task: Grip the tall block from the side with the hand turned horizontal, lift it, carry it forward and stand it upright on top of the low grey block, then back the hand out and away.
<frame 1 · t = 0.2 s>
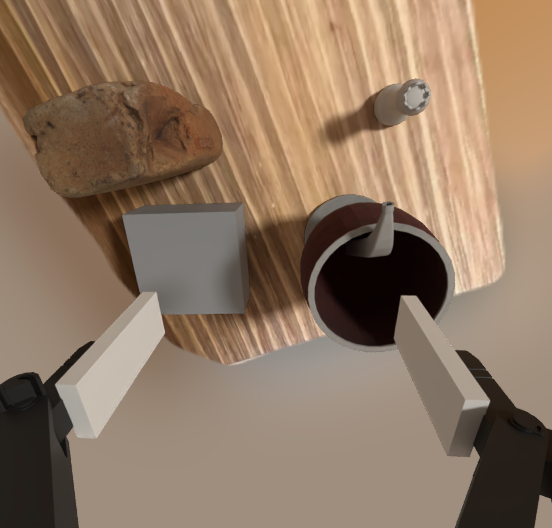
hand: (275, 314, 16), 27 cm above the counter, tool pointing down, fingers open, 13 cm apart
block: (185, 142, 39), on the counter
rook chess piece: (391, 106, 37), on the counter
grey base block: (199, 251, 45), on the counter
mate gourd: (346, 232, 43), on the counter
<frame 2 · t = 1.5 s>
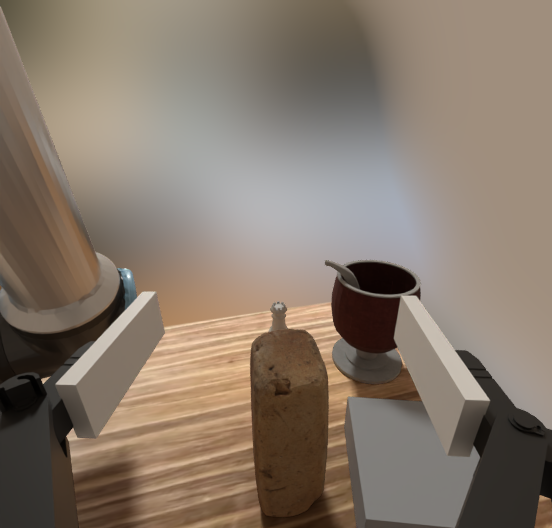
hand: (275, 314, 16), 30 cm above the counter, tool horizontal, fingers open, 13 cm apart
block: (285, 473, 38), on the counter
rook chess piece: (279, 339, 62), on the counter
grey base block: (409, 483, 36), on the counter
mate gourd: (361, 359, 56), on the counter
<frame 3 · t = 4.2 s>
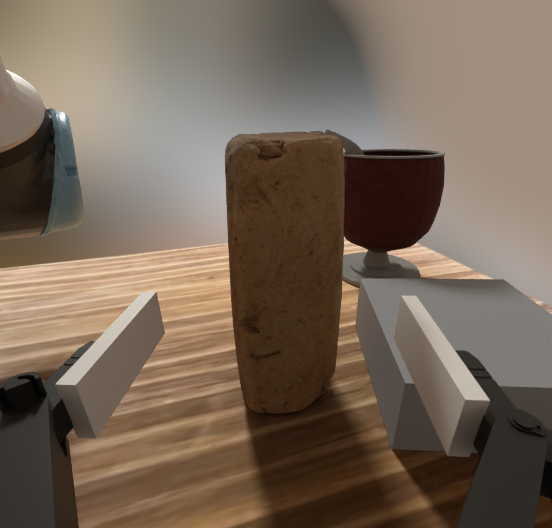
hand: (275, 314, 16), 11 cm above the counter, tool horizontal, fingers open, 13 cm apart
block: (279, 372, 28), on the counter
grey base block: (450, 376, 27), on the counter
mate gourd: (369, 272, 46), on the counter
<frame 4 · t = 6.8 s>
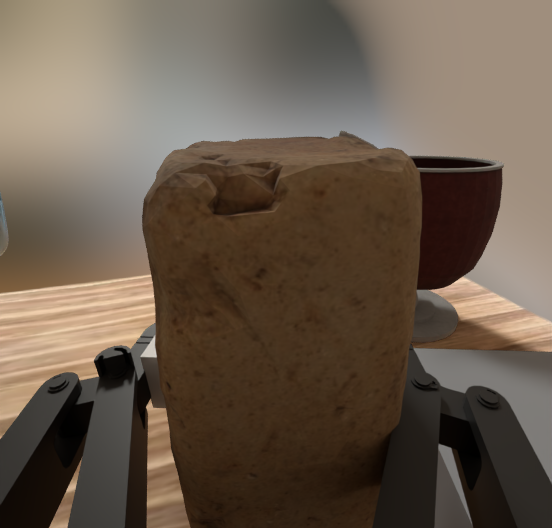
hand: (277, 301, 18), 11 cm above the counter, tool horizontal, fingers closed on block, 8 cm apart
block: (276, 504, 18), on the counter, touching gripper
grey base block: (543, 519, 17), on the counter
mate gourd: (392, 311, 37), on the counter
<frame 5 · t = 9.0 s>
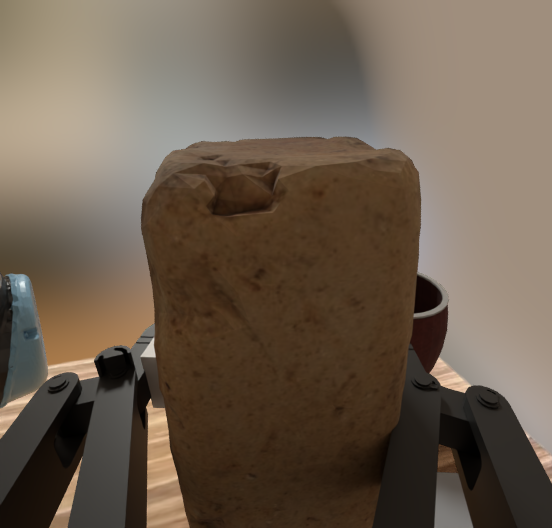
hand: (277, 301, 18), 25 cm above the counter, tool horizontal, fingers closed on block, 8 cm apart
block: (275, 505, 18), point 14 cm above the counter, touching gripper
mate gourd: (366, 393, 43), on the counter
when the fingers open (18 cm above the counter, at t = 11.8 s): block drops 1 cm, resting on grey base block.
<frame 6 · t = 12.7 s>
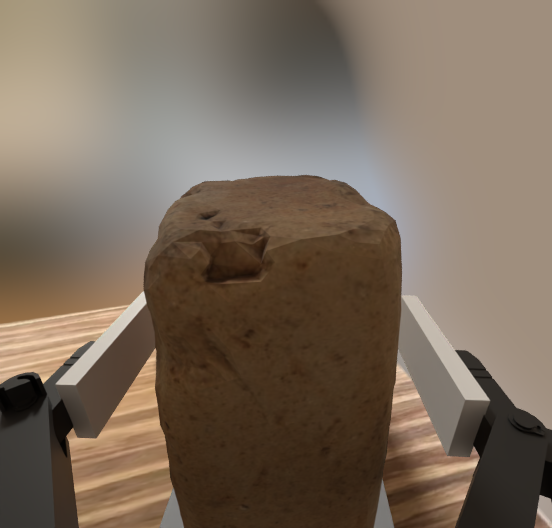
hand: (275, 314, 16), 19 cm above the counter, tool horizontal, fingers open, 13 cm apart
block: (274, 519, 19), point 6 cm above the counter, touching grey base block
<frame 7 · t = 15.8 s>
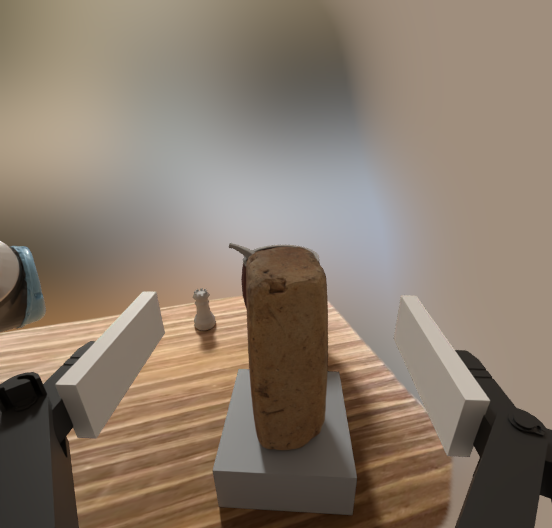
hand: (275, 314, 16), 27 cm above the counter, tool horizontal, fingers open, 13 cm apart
block: (285, 414, 36), point 6 cm above the counter, touching grey base block
rook chess piece: (205, 325, 63), on the counter
grey base block: (287, 447, 38), on the counter
mate gourd: (278, 341, 58), on the counter
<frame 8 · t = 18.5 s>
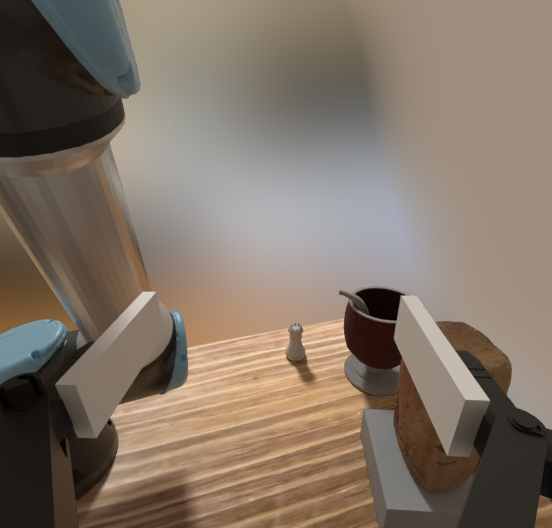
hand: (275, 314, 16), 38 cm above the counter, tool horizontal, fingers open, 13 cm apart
block: (424, 455, 42), point 6 cm above the counter, touching grey base block
rook chess piece: (295, 356, 69), on the counter
grey base block: (418, 480, 44), on the counter
mate gourd: (369, 373, 64), on the counter
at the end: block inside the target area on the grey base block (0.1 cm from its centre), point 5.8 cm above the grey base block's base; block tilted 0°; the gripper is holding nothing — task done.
